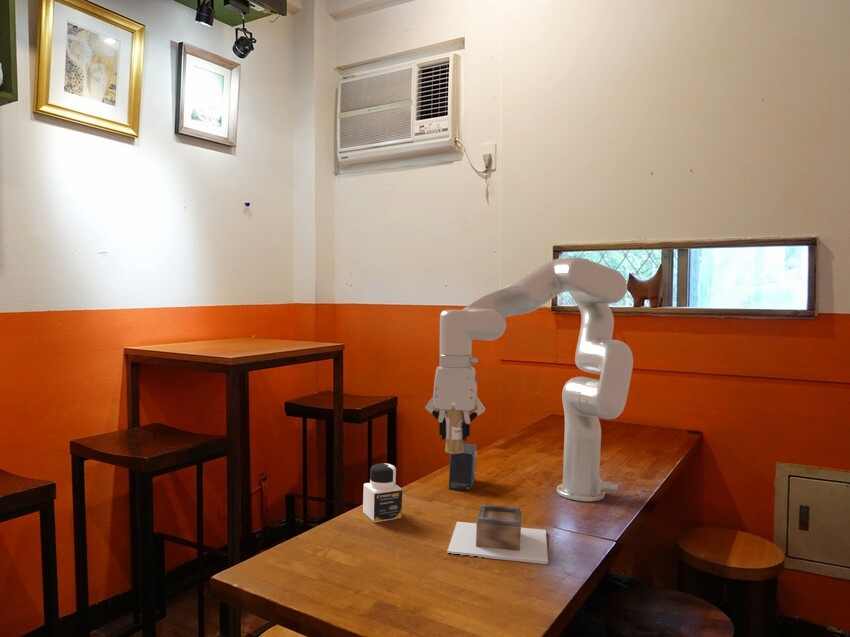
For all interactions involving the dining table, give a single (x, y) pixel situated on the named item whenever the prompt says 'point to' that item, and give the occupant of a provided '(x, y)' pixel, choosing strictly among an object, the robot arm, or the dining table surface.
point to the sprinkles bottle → (454, 430)
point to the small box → (463, 468)
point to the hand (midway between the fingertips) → (454, 438)
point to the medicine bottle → (382, 494)
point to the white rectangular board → (530, 549)
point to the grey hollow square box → (499, 527)
